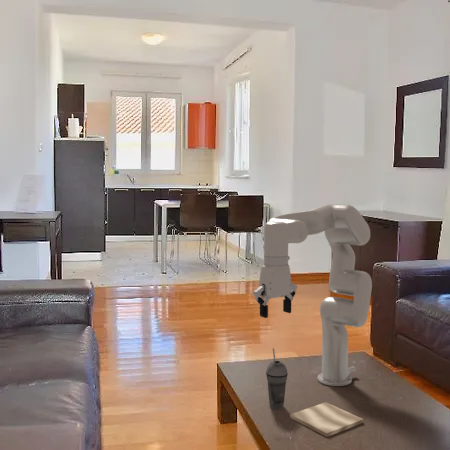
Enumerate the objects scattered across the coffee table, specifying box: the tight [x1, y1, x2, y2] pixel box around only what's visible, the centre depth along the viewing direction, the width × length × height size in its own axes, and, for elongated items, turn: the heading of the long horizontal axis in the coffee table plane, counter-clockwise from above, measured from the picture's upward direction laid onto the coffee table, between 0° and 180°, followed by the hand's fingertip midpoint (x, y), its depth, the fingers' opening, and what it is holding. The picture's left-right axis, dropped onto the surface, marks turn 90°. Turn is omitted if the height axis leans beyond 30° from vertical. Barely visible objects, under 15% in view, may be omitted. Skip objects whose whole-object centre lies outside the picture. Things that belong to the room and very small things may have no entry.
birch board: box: [289, 401, 364, 438], centre depth 177 cm, size 16×16×1 cm
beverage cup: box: [265, 347, 289, 411], centre depth 187 cm, size 7×7×20 cm
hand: (275, 314), depth 177 cm, fingers open, 9 cm apart
